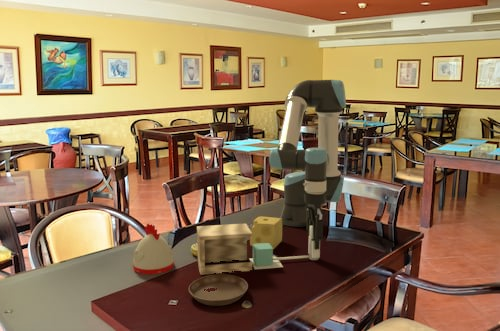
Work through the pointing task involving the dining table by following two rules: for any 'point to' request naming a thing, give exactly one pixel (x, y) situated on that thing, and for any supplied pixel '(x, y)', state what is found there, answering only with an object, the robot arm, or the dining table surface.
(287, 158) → the robot arm
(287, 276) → the dining table surface
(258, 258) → the block
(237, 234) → the box
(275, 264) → the mat
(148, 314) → the dining table surface
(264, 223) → the cheese
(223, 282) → the plant saucer
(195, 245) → the decorated donut
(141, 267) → the kitchen timer
